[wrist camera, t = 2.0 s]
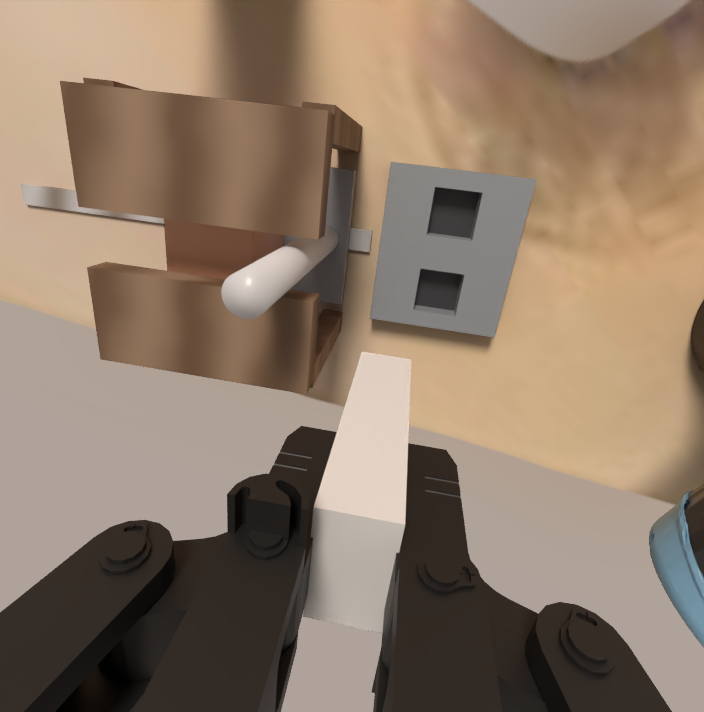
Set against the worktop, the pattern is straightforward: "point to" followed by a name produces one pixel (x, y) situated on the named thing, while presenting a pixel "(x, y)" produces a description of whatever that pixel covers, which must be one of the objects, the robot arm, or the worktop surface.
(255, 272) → the white lever handle
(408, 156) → the worktop surface
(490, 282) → the pit plate
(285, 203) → the wooden rack
